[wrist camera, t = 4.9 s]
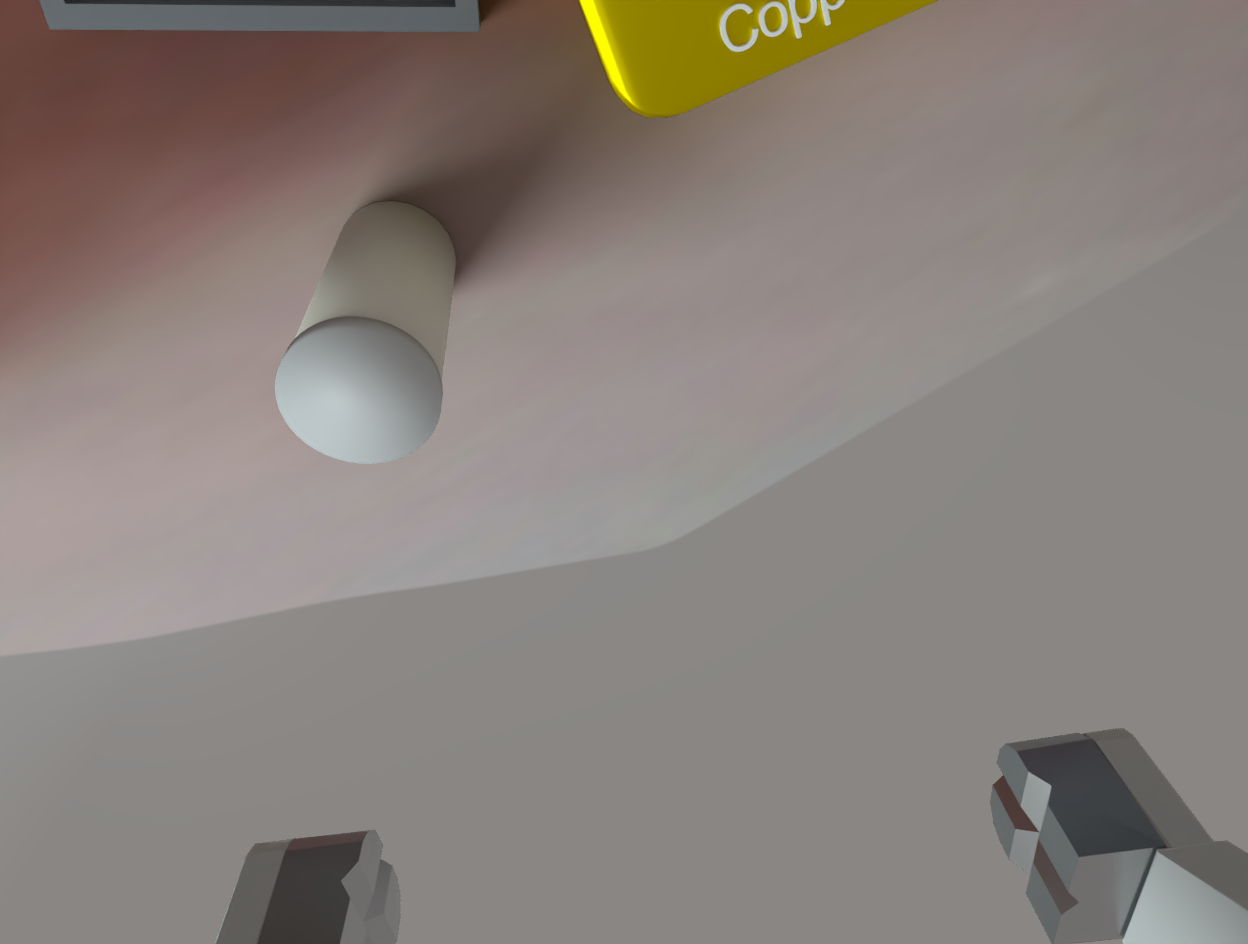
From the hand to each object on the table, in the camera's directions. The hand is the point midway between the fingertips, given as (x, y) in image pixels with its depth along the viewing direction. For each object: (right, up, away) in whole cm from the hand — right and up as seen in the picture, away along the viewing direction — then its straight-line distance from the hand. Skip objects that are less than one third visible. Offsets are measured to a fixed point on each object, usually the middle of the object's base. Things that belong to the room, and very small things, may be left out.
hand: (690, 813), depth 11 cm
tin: (-11, +14, +27) cm, 32 cm away
